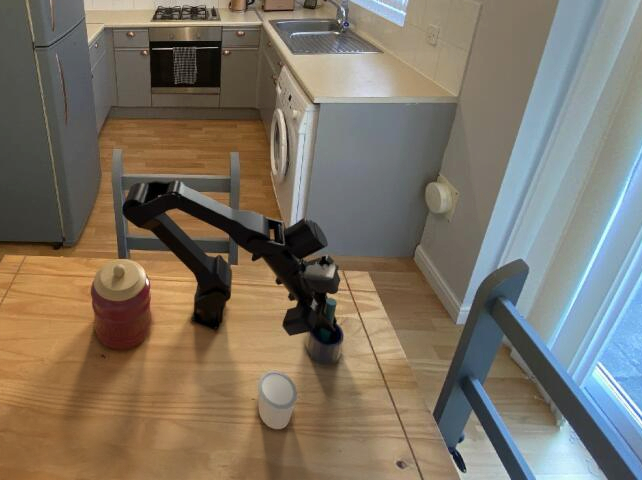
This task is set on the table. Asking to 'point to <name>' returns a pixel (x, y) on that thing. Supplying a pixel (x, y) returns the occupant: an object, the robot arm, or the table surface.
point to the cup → (325, 345)
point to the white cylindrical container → (276, 398)
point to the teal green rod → (330, 313)
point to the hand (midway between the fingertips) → (334, 327)
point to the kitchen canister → (121, 304)
